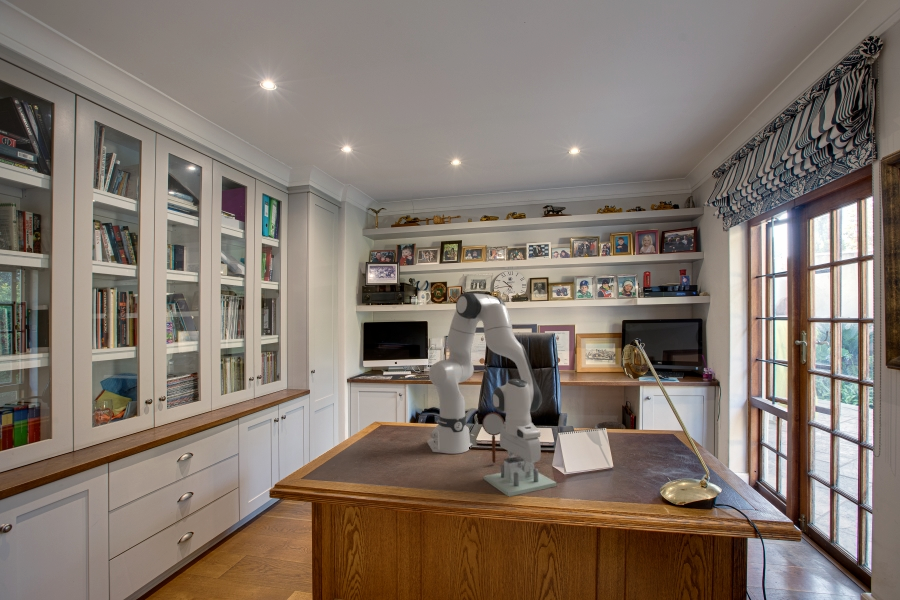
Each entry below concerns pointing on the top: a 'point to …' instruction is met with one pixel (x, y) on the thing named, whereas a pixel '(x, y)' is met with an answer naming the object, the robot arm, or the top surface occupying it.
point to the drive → (517, 469)
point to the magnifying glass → (493, 428)
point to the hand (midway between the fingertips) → (519, 467)
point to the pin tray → (519, 483)
